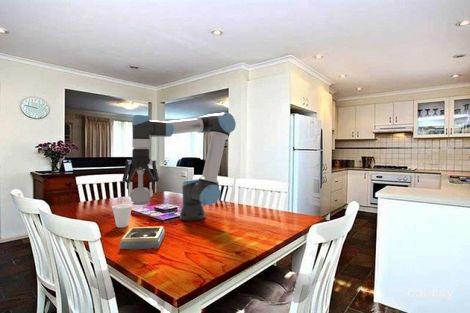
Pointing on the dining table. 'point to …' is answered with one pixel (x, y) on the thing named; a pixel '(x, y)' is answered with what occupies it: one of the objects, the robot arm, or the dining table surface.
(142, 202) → the potion bottle
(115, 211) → the cup
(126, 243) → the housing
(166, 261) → the dining table surface
